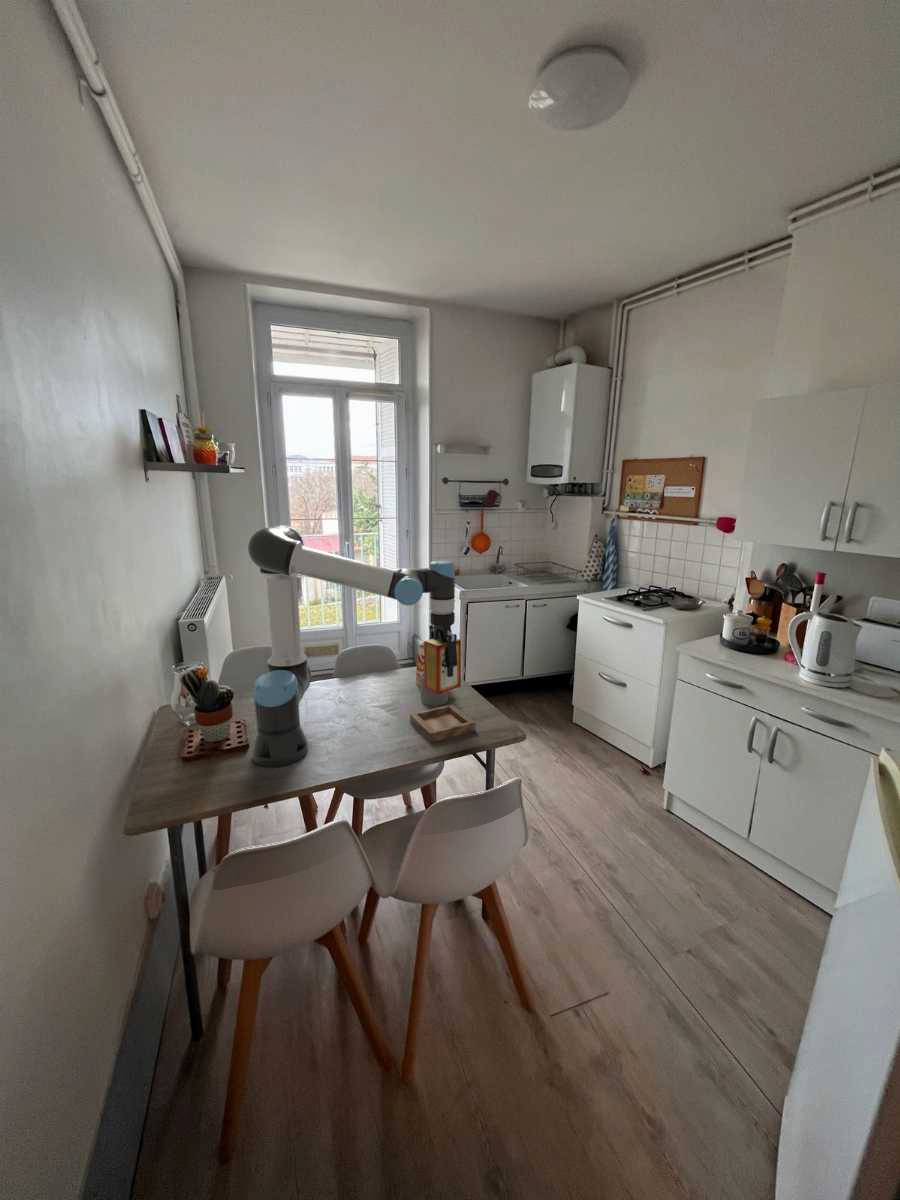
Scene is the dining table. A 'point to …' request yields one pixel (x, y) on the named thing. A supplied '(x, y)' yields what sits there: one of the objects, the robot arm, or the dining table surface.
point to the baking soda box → (439, 666)
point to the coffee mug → (431, 695)
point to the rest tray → (442, 723)
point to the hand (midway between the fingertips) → (442, 681)
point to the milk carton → (420, 664)
